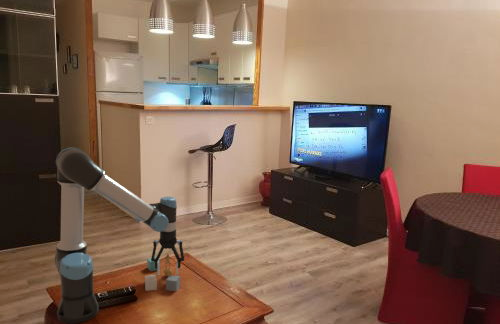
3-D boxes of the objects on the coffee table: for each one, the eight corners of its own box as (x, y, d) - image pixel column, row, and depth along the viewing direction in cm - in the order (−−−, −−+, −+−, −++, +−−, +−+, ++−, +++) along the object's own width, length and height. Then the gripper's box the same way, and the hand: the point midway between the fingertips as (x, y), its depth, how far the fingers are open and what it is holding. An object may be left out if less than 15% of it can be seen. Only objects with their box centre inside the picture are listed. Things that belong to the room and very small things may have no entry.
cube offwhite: (145, 290, 179) (145, 280, 178) (145, 285, 183) (144, 275, 182) (156, 289, 180) (156, 279, 179) (156, 284, 185) (156, 274, 184)
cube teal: (150, 271, 198) (150, 262, 197) (147, 267, 202) (147, 258, 201) (160, 269, 200) (160, 260, 199) (156, 265, 205) (156, 256, 204)
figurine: (177, 274, 195) (177, 251, 193) (175, 279, 190) (175, 256, 187) (160, 273, 195) (160, 250, 193) (157, 279, 189) (158, 255, 187)
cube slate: (165, 290, 180) (165, 280, 179) (169, 285, 185) (169, 275, 184) (176, 291, 179) (176, 281, 178) (179, 286, 184) (179, 276, 183)
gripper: (144, 232, 183) (144, 278, 187) (190, 232, 186) (189, 277, 190) (146, 226, 190) (146, 271, 194) (190, 226, 193) (189, 270, 197)
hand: (167, 274), depth 192 cm, fingers closed on figurine, 8 cm apart
